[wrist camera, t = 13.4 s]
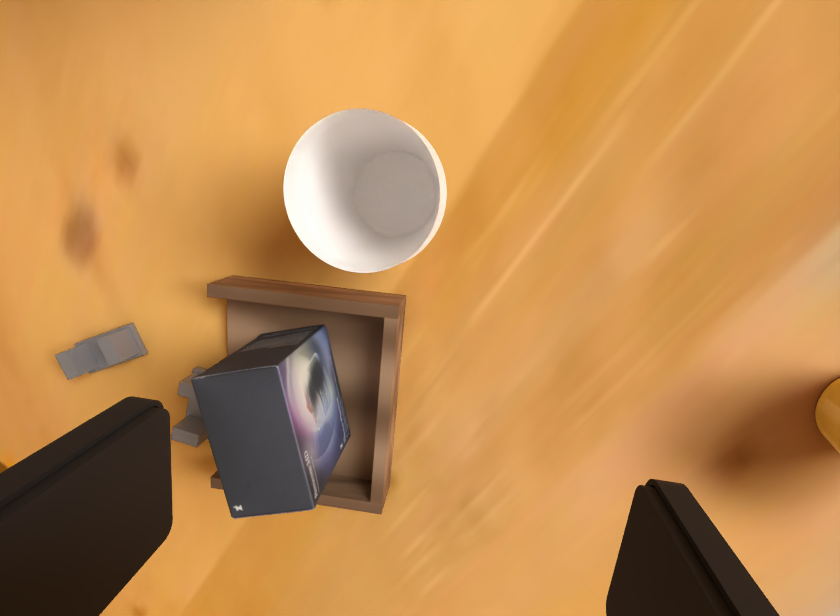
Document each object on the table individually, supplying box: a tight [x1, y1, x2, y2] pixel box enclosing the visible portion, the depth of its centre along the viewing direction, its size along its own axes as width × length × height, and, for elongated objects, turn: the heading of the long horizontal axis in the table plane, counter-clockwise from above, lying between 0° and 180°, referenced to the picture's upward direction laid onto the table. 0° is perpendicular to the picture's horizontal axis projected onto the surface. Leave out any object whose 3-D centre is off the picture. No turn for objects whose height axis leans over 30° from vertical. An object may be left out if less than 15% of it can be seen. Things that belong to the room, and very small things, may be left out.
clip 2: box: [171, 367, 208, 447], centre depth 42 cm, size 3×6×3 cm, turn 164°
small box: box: [191, 325, 351, 519], centre depth 36 cm, size 11×6×10 cm, turn 11°
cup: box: [284, 109, 447, 273], centre depth 31 cm, size 9×9×12 cm
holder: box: [207, 276, 406, 514], centre depth 40 cm, size 18×15×4 cm
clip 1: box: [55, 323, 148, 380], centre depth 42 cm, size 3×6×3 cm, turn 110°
